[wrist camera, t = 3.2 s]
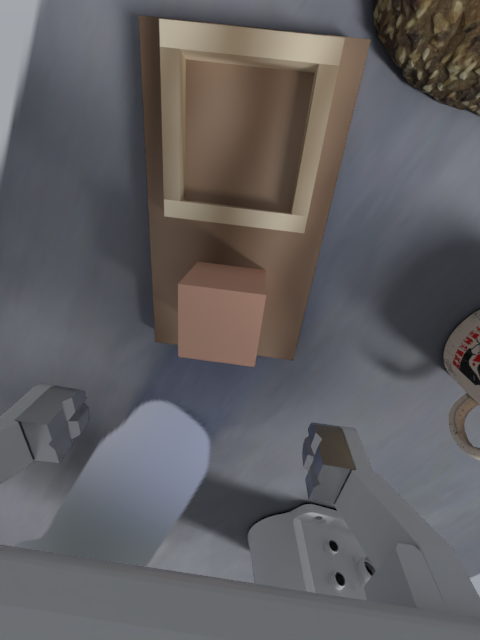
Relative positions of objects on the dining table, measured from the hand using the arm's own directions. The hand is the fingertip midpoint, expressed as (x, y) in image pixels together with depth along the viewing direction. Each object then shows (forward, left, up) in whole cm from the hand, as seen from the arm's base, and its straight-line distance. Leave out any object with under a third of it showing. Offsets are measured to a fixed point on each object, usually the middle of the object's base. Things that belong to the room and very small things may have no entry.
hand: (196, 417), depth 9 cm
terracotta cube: (0, 0, -12) cm, 12 cm away
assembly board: (0, -5, -14) cm, 14 cm away
